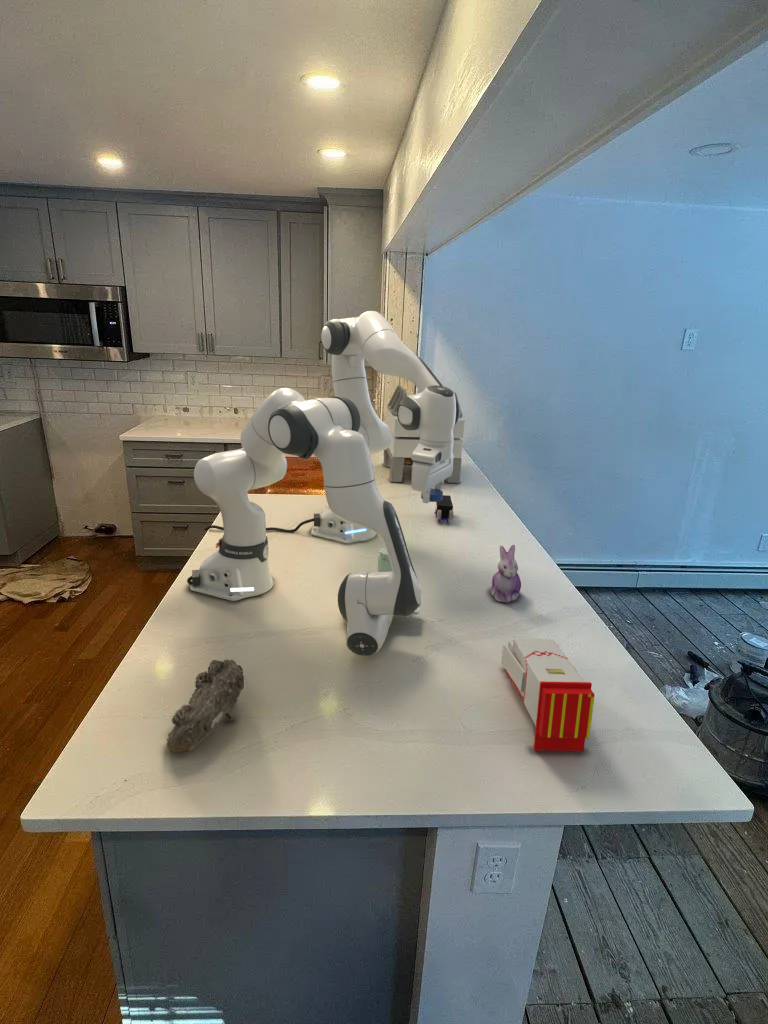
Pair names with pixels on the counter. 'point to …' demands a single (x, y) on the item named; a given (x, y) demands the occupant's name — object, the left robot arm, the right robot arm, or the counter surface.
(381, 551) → the jar
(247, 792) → the counter surface
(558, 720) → the toy
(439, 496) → the lid
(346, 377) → the right robot arm
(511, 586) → the figurine
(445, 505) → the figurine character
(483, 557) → the counter surface
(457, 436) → the transformer
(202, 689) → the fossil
